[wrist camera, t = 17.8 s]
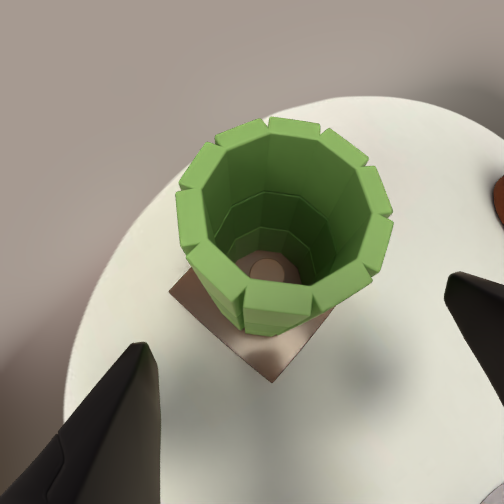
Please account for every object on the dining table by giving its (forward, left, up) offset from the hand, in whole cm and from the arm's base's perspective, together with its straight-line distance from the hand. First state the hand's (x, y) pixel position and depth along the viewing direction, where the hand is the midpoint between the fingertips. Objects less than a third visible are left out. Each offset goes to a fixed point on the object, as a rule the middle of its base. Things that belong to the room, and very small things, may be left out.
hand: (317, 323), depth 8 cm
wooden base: (+2, +3, -13) cm, 13 cm away
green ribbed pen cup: (+2, +3, -12) cm, 12 cm away
